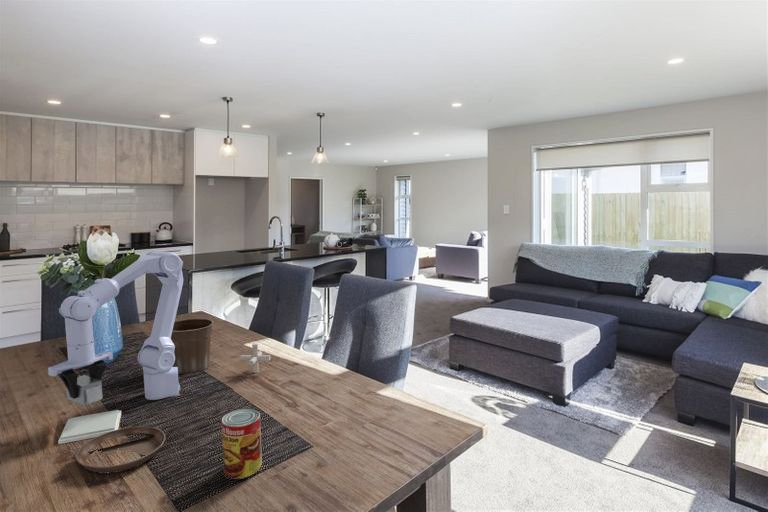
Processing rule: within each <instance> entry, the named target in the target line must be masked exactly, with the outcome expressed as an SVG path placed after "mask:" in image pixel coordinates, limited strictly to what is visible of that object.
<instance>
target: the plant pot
mask: <svg viewBox="0 0 768 512" xmlns="http://www.w3.org/2000/svg"><path fill="white" fill-rule="evenodd" d="M213 326H214V320H212V319H207V318H186V319H179V320H175V321H174V326H173V330H172V335H171V340H172V342H173V344H174V345H175V349H174V354H175V362H174V364H173V366H172V367H178V375H187V374H188V375H189V374H193V373H195V372H196V373H198V372H203V371H206V370H207V369H208V368H210V363H211V361H210V360H211V337H212V333H213Z"/></svg>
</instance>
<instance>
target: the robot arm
mask: <svg viewBox="0 0 768 512" xmlns="http://www.w3.org/2000/svg"><path fill="white" fill-rule="evenodd" d="M183 265H184V261H183V260H182V258H181V257H180V256H179V255H178V254H177V253H176V252H171V251H170V252H168V251H157V250H150V251H149V252H147V253H145V254H143V255H141V256H140V257H139V258H138V259H137V260H136V261H134V262H132V263H131V264H130V265H128V266H127V267H125V268H124V269H123V270H122V271H120V272H118V273H117V274H116V275H115V276H113V277H111V278H107V277H103V278H97V279H95V280H94V284H92V285H90V286H89V287H87V288H86V289H84V290H79V291H78V292H77V295H71V296H68V297H67V298H65V299H64V300H63V301H62V303H61V305H60V307H59V308H58V312H59V314H60V315H61V317H63V318H64V325H65V326H64V327H65V336H66V337H65V338H66V340H65V341H66V349H67V360H66V361H62V362H61V363H58V364H56V365H53V366H49V367H47V370H48V371H47V373H48V376H50V377H57V376H58V377H59V378H60V380H61V381H62V382H63V384H64V386H65V387H67V389H68V391H69V394H70V397H71V398H74V399H75V398H77V397H78V392H77V378H78V377H79V373H76V372H75V370H77V369H80V368H84V367H87V369H88V373H89V377H92V378H95V379H98V380H101V381H102V376H103V374H104V372H105V370H106V368H107V366H108V365H107V362H105V361H107V360H108V361H110V360H113V359H114V357H113V356H114V354H113V351H110V350H107V351H103V352H98V353H95V351H96V350H95V340H94V328H93V317H94V316H95V314H96V312H97V310H98V309H100V308H101V307H102V306H104V305H105V304H107V303H108V302H109V301H111V300H113V299H114V298H116V297H117V296H118V295H119V293H120V289H121V288H123V287H125V286H126V285H128V284H129V283H132V282H133V281H135V280H137V279H138V278H140V277H142V276H144V275H146V274H153V276H156V277H157V278H158V280H159V281H160V282H161V284H162V286H161V290H160V295H159V298H158V304H157V307H156V311H155V316H154V321H153V324H152V330H151V334H150V336H148V337H147V338H146V339H145V340H144V342H143V345H142V348H141V349H140V350H139V352H138V354H137V362H138V364H139V365H140V366H142V370H143V383H144V397H145V399H146V400H149V401H150V400H152V401H155V400H156V401H157V400H161V399H165V398H169V397H176V396H180V391H181V385H180V384H179V374H178V367H172V366H173V364H174V362H175V354H174V349H175V345H174V344H173V342H172V340H171V335H172V330H173V326H174V321H176V317H177V313H178V307H179V304H180V303H179V302H180V298H181V295H182V290H183V285H184V276H183V275H184V274H183V270H182V269H183Z"/></svg>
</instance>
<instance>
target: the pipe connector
mask: <svg viewBox="0 0 768 512" xmlns="http://www.w3.org/2000/svg"><path fill="white" fill-rule="evenodd" d="M251 345H252V347H251V348H252V349H251V350H252V351H251V352H252V354H251V355H250V354H249V355H248V354H245V355H243V354H241V355H240V356H239V358H240V359H239V360H240V362H243V361H245V362H246V361H248V362H247V364H248V366H250V367H251V366H252V372H253V373H254V374H258V373H260V372H259V371H260V370H259V369H260V368H259V367H260V366H259V361H265V362H267V361H271V357H272V356H271V355H269V354H268V355H267V354H265V355H264V354H263V351H261V350H259V347H258V346H259V344H258V343H257V342H255V343H252V344H251Z"/></svg>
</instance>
